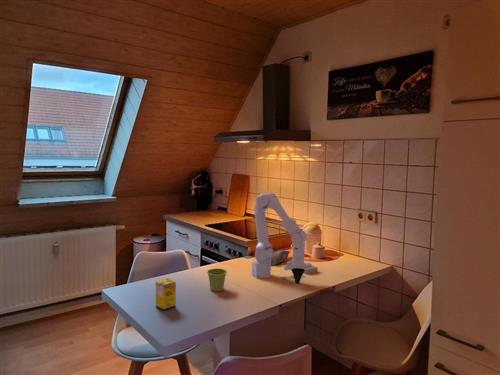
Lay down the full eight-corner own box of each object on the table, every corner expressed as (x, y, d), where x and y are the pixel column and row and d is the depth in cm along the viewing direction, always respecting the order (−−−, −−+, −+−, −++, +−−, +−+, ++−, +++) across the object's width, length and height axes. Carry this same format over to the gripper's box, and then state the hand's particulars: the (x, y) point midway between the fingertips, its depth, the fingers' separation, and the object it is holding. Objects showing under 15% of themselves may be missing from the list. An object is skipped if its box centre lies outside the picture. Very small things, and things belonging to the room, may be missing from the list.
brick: (318, 274, 204) (318, 266, 203) (307, 277, 199) (307, 268, 198) (297, 266, 217) (297, 258, 217) (286, 269, 212) (286, 260, 212)
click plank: (291, 287, 184) (292, 285, 183) (285, 282, 190) (285, 279, 190) (313, 284, 188) (313, 282, 188) (305, 279, 195) (305, 277, 194)
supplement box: (175, 307, 157) (176, 281, 156) (163, 311, 152) (164, 285, 151) (167, 302, 161) (167, 277, 160) (155, 306, 156) (155, 281, 155)
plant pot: (208, 293, 172) (208, 275, 171) (205, 286, 181) (205, 268, 180) (228, 292, 175) (228, 274, 174) (224, 285, 184) (224, 267, 183)
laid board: (284, 282, 190) (284, 279, 190) (280, 279, 194) (280, 276, 194) (306, 279, 195) (306, 277, 195) (302, 276, 199) (302, 274, 199)
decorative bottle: (275, 268, 212) (275, 256, 212) (263, 266, 216) (263, 254, 215) (294, 257, 234) (295, 247, 233) (283, 255, 238) (284, 245, 237)
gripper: (289, 259, 178) (288, 287, 179) (315, 256, 184) (314, 283, 185) (282, 255, 185) (281, 282, 186) (307, 253, 190) (306, 279, 192)
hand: (297, 282), depth 186 cm, fingers closed
